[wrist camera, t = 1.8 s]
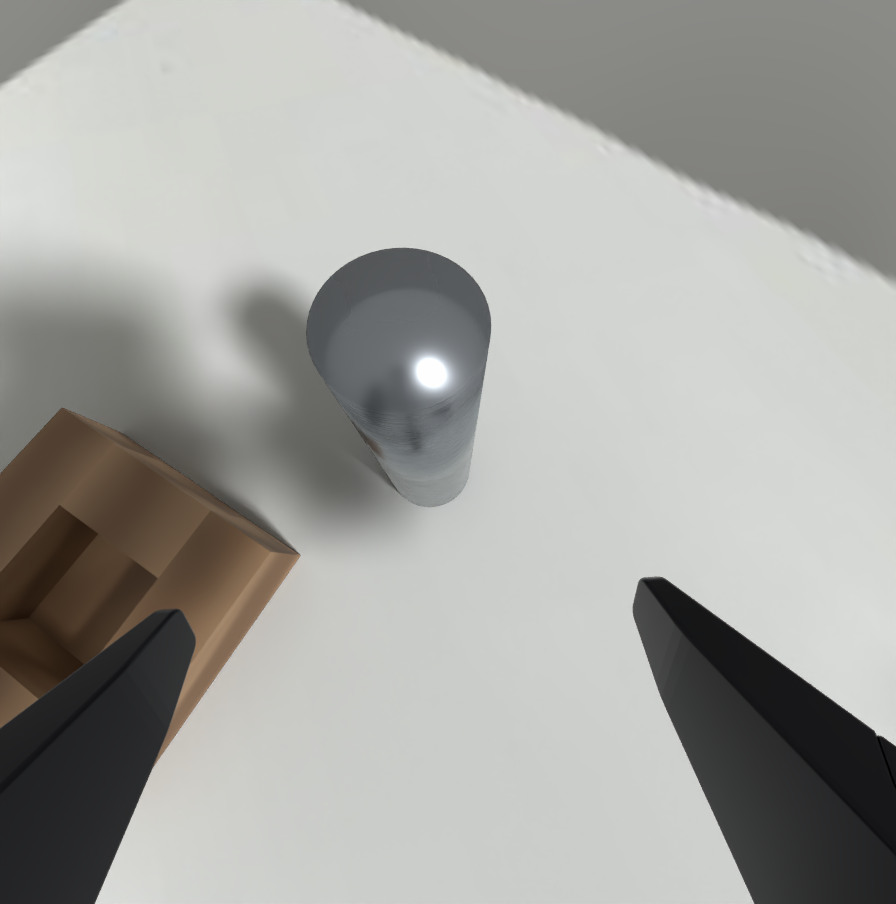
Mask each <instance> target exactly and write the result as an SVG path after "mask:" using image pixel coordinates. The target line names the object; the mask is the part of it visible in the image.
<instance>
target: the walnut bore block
mask: <svg viewBox="0 0 896 904" xmlns="http://www.w3.org/2000/svg"><path fill="white" fill-rule="evenodd" d="M300 556H301V555H299V554H298V553H296V552H295V551H293V550H292V549H290V548H289V547H287V546H286V545H285V544H283V543H282V542H280V541H279V540H277V539H276V538H274V537H273V536H271V535H270V534H268V533H267V532H266V531H264V530H263V529H261V528H260V527H258V526H257V525H255V524H254V523H252V522H251V521H249V520H248V519H247V518H245V517H244V516H242V515H241V514H239V513H238V512H236V511H235V510H233V509H232V508H230V507H229V506H228V505H226V504H225V503H223V502H222V501H220V500H219V499H217V498H216V497H214V496H213V495H211V494H210V493H209V492H207V491H206V490H204V489H203V488H201V487H200V486H198V485H197V484H195V483H194V482H192V481H191V480H190V479H188V478H187V477H185V476H184V475H182V474H181V473H179V472H178V471H176V470H175V469H173V468H172V467H171V466H169V465H168V464H166V463H165V462H163V461H162V460H160V459H159V458H157V457H156V456H154V455H153V454H152V453H150V452H149V451H147V450H146V449H144V448H143V447H141V446H140V445H138V444H137V443H135V442H134V441H133V440H131V439H130V438H128V437H127V436H125V435H124V434H122V433H121V432H118V431H116V430H114V429H111V428H109V427H107V426H104V425H102V424H100V423H97V422H95V421H92V420H90V419H88V418H85V417H83V416H81V415H78V414H76V413H74V412H71V411H69V410H67V409H64V408H61V409H60V410H59V411H58V412H57V413H56V415H55V416H54V417H53V418H52V419H51V420H50V421H49V422H48V423H47V424H46V425H45V426H44V427H43V428H42V430H41V431H40V432H39V433H38V434H37V435H36V436H35V437H34V438H33V439H32V440H31V441H30V442H29V443H28V445H27V446H26V447H25V448H24V449H23V450H22V451H21V452H20V453H19V454H18V455H17V456H16V457H15V459H14V460H13V461H12V462H11V463H10V464H9V465H8V466H7V467H6V468H5V469H4V470H3V471H2V472H1V474H0V728H1V727H2V726H3V725H5V724H6V723H7V722H9V721H10V720H11V719H13V718H14V717H15V716H17V715H18V714H19V713H21V712H22V711H23V710H25V709H26V708H27V707H29V706H30V705H31V704H33V703H34V702H35V701H37V700H38V699H39V698H41V697H42V696H43V695H44V694H46V693H47V692H48V691H50V690H51V689H52V688H54V687H55V686H56V685H58V684H59V683H60V682H62V681H63V680H64V679H66V678H67V677H68V676H70V675H71V674H72V673H74V672H75V671H76V670H78V669H79V668H80V667H82V666H83V665H84V664H86V663H87V662H88V661H90V660H91V659H92V658H94V657H95V656H96V655H97V654H99V653H100V652H101V651H103V650H104V649H105V648H107V647H108V646H109V645H111V644H112V643H113V642H115V641H116V640H117V639H119V638H120V637H121V636H123V635H124V634H125V633H127V632H128V631H129V630H131V629H132V628H133V627H135V626H136V625H137V624H139V623H140V622H141V621H143V620H144V619H145V618H147V617H148V616H149V615H150V614H152V613H153V612H155V611H157V610H162V609H180V610H181V611H183V613H184V615H185V616H186V618H187V620H188V622H189V624H190V626H191V628H192V630H193V632H194V634H195V637H196V646H195V650H194V653H193V656H192V659H191V662H190V666H189V669H188V672H187V675H186V678H185V681H184V684H183V687H182V691H181V694H180V697H179V700H178V703H177V706H176V709H175V712H174V715H173V718H172V721H171V724H170V727H169V730H168V732H167V735H166V737H165V740H164V742H163V745H162V747H161V749H160V752H159V754H158V756H157V759H156V761H155V763H154V765H155V764H156V762H157V761H158V759H159V758H160V756H161V755H162V754H163V752H164V751H165V749H166V748H167V746H168V745H169V744H170V742H171V741H172V739H173V738H174V736H175V735H176V734H177V732H178V731H179V729H180V728H181V726H182V725H183V723H184V722H185V721H186V719H187V718H188V716H189V715H190V713H191V712H192V711H193V709H194V708H195V706H196V705H197V703H198V702H199V701H200V699H201V698H202V696H203V695H204V693H205V692H206V690H207V689H208V688H209V686H210V685H211V683H212V682H213V680H214V679H215V678H216V676H217V675H218V673H219V672H220V670H221V669H222V668H223V666H224V665H225V663H226V662H227V660H228V659H229V657H230V656H231V655H232V653H233V652H234V650H235V649H236V647H237V646H238V645H239V643H240V642H241V640H242V639H243V637H244V636H245V635H246V633H247V632H248V630H249V629H250V627H251V626H252V624H253V623H254V622H255V620H256V619H257V617H258V616H259V614H260V613H261V612H262V610H263V609H264V607H265V606H266V604H267V603H268V602H269V600H270V599H271V597H272V596H273V594H274V593H275V591H276V590H277V589H278V587H279V586H280V584H281V583H282V581H283V580H284V579H285V577H286V576H287V574H288V573H289V571H290V570H291V568H292V567H293V566H294V564H295V563H296V561H297V560H298V558H299V557H300ZM153 767H154V766H153Z"/></svg>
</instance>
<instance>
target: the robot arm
mask: <svg viewBox="0 0 896 904" xmlns="http://www.w3.org/2000/svg"><path fill="white" fill-rule="evenodd" d="M633 616H634V620H635V623H636V626H637V629H638V631H639V634H640V637H641V640H642V643H643V646H644V649H645V652H646V655H647V658H648V661H649V664H650V667H651V670H652V673H653V676H654V679H655V682H656V685H657V687H658V690H659V693H660V696H661V698H662V700H663V703H664V705H665V708H666V710H667V712H668V714H669V717H670V719H671V721H672V723H673V725H674V728H675V730H676V732H677V734H678V736H679V739H680V741H681V743H682V745H683V747H684V750H685V752H686V754H687V756H688V758H689V761H690V763H691V765H692V767H693V769H694V772H695V774H696V776H697V778H698V780H699V783H700V785H701V787H702V789H703V791H704V794H705V796H706V798H707V800H708V803H709V805H710V807H711V809H712V811H713V814H714V816H715V818H716V820H717V822H718V825H719V827H720V829H721V831H722V833H723V836H724V838H725V840H726V842H727V844H728V847H729V849H730V851H731V853H732V855H733V858H734V860H735V862H736V864H737V866H738V869H739V871H740V873H741V875H742V877H743V880H744V882H745V884H746V886H747V888H748V891H749V893H750V895H751V897H752V900H753V902H754V904H896V746H895V745H893V744H892V743H891V742H889V741H888V740H887V739H885V738H884V737H882V736H879V735H878V736H877V735H876V733H875V731H874V730H873V729H871V728H870V727H868V726H867V725H866V724H864V723H863V722H862V721H860V720H859V719H857V718H856V717H855V716H853V715H852V714H851V713H849V712H848V711H846V710H845V709H844V708H842V707H841V706H840V705H838V704H837V703H835V702H834V701H833V700H831V699H830V698H829V697H827V696H826V695H824V694H823V693H822V692H820V691H819V690H818V689H816V688H815V687H813V686H812V685H811V684H809V683H808V682H807V681H805V680H804V679H802V678H801V677H800V676H798V675H797V674H796V673H794V672H793V671H791V670H790V669H789V668H787V667H786V666H785V665H783V664H782V663H780V662H779V661H778V660H776V659H775V658H774V657H772V656H771V655H769V654H768V653H767V652H765V651H764V650H763V649H761V648H760V647H758V646H757V645H756V644H754V643H753V642H752V641H750V640H749V639H747V638H746V637H745V636H743V635H742V634H741V633H739V632H738V631H736V630H735V629H734V628H732V627H731V626H730V625H728V624H727V623H726V622H724V621H723V620H721V619H720V618H719V617H717V616H716V615H715V614H713V613H712V612H710V611H709V610H708V609H706V608H705V607H704V606H702V605H701V604H699V603H698V602H697V601H695V600H694V599H693V598H691V597H690V596H688V595H687V594H686V593H684V592H683V591H682V590H680V589H679V588H677V587H676V586H675V585H673V584H672V583H671V582H669V581H668V580H666V579H665V578H663V577H645V578H641V579H640V580H639V582H638V586H637V590H636V594H635V599H634V603H633ZM195 646H196V637H195V634H194V632H193V630H192V628H191V626H190V624H189V622H188V620H187V618H186V616H185V615H184V613H183V611H181V610H180V609H162V610H157V611H155V612H153V613H152V614H150V615H149V616H148V617H147V618H145V619H144V620H143V621H141V622H140V623H139V624H137V625H136V626H135V627H133V628H132V629H131V630H129V631H128V632H127V633H125V634H124V635H123V636H121V637H120V638H119V639H117V640H116V641H115V642H113V643H112V644H111V645H109V646H108V647H107V648H105V649H104V650H103V651H101V652H100V653H99V654H97V655H96V656H95V657H94V658H92V659H91V660H90V661H88V662H87V663H86V664H84V665H83V666H82V667H80V668H79V669H78V670H76V671H75V672H74V673H72V674H71V675H70V676H68V677H67V678H66V679H64V680H63V681H62V682H60V683H59V684H58V685H56V686H55V687H54V688H52V689H51V690H50V691H48V692H47V693H46V694H44V695H43V696H42V697H41V698H39V699H38V700H37V701H35V702H34V703H33V704H31V705H30V706H29V707H27V708H26V709H25V710H23V711H22V712H21V713H19V714H18V715H17V716H15V717H14V718H13V719H11V720H10V721H9V722H7V723H6V724H5V725H3V726H2V727H1V728H0V904H95V902H96V899H97V897H98V895H99V892H100V890H101V888H102V885H103V883H104V881H105V878H106V876H107V874H108V871H109V869H110V867H111V864H112V862H113V860H114V857H115V855H116V853H117V850H118V848H119V846H120V843H121V841H122V838H123V836H124V834H125V831H126V829H127V827H128V824H129V822H130V820H131V817H132V815H133V813H134V810H135V808H136V806H137V803H138V801H139V799H140V796H141V794H142V792H143V789H144V787H145V785H146V782H147V780H148V777H149V775H150V773H151V770H152V768H153V766H154V763H155V761H156V759H157V756H158V754H159V752H160V749H161V747H162V745H163V742H164V740H165V737H166V735H167V732H168V730H169V727H170V724H171V721H172V718H173V715H174V712H175V709H176V706H177V703H178V700H179V697H180V694H181V691H182V687H183V684H184V681H185V678H186V675H187V672H188V669H189V666H190V662H191V659H192V656H193V653H194V650H195Z"/></svg>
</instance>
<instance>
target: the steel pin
mask: <svg viewBox="0 0 896 904" xmlns="http://www.w3.org/2000/svg"><path fill="white" fill-rule="evenodd" d="M306 334H307V344H308V349H309V353H310V356H311V358H312V361H313V363H314V365H315V367H316V368H317V370H318V372H319V374H320V375H321V377H322V378H323V380H324V381H325V383H326V384H327V386H328V387H329V389H330V390H331V392H332V393H333V395H334V396H335V397H336V399H337V400H338V402H339V403H340V405H341V406H342V408H343V409H344V411H345V412H346V414H347V415H348V417H349V418H350V420H351V421H352V423H353V424H354V426H355V427H356V429H357V430H358V432H359V433H360V435H361V436H362V438H363V439H364V441H365V442H366V444H367V445H368V447H369V448H370V450H371V451H372V453H373V454H374V456H375V457H376V459H377V460H378V462H379V463H380V465H381V466H382V468H383V469H384V471H385V472H386V474H387V475H388V477H389V478H390V480H391V481H392V483H393V484H394V486H395V487H396V489H397V490H398V492H399V493H400V494H401V495H402V496H403V497H404V498H405V499H407V500H408V501H410V502H411V503H413V504H416V505H419V506H424V507H435V506H440V505H443V504H446V503H448V502H450V501H451V500H453V499H454V498H455V497H457V496H458V494H459V493H460V492H461V491H462V490H463V488H464V486H465V484H466V482H467V479H468V475H469V468H470V462H471V456H472V450H473V443H474V437H475V431H476V424H477V418H478V412H479V405H480V399H481V393H482V386H483V380H484V374H485V367H486V361H487V355H488V348H489V342H490V335H491V316H490V311H489V307H488V304H487V301H486V298H485V296H484V294H483V292H482V290H481V289H480V287H479V285H478V284H477V283H476V281H475V280H474V279H473V278H472V277H471V276H470V275H469V274H468V273H467V272H466V271H465V270H464V269H463V268H462V267H460V266H459V265H458V264H456V263H454V262H453V261H451V260H449V259H448V258H445V257H443V256H441V255H439V254H436V253H433V252H429V251H426V250H420V249H413V248H391V249H384V250H379V251H375V252H371V253H369V254H366V255H363V256H361V257H358V258H357V259H355V260H353V261H351V262H349V263H347V264H346V265H344V266H343V267H341V268H340V269H339V270H338V271H336V272H335V273H334V274H333V275H332V276H331V277H330V278H329V279H328V280H327V281H326V282H325V283H324V285H323V286H322V288H321V289H320V290H319V292H318V293H317V295H316V297H315V299H314V301H313V303H312V306H311V309H310V311H309V316H308V320H307V331H306Z"/></svg>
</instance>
